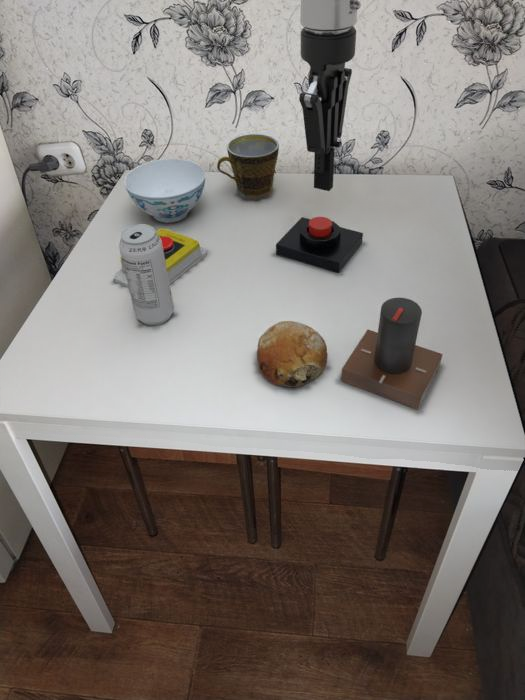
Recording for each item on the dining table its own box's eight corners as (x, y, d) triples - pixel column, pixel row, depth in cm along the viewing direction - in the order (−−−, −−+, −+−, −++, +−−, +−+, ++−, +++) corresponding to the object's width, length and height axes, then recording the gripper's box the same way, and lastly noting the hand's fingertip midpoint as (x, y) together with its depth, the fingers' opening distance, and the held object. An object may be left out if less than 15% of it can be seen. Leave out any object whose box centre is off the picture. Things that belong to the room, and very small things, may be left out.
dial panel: (439, 366, 82) (443, 352, 81) (418, 410, 77) (421, 397, 75) (366, 341, 87) (368, 327, 85) (340, 381, 81) (341, 368, 79)
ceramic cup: (262, 175, 124) (260, 129, 117) (289, 195, 118) (289, 147, 111) (208, 194, 120) (203, 147, 113) (234, 215, 113) (230, 166, 106)
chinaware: (215, 195, 119) (211, 158, 114) (201, 235, 109) (197, 198, 103) (142, 193, 121) (136, 157, 115) (122, 233, 110) (114, 196, 105)
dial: (382, 343, 82) (389, 291, 76) (416, 355, 80) (427, 302, 74) (368, 366, 79) (375, 313, 73) (404, 379, 77) (414, 326, 71)
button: (335, 228, 102) (336, 219, 101) (325, 240, 100) (326, 231, 98) (314, 223, 104) (315, 214, 102) (304, 234, 101) (304, 225, 100)
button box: (362, 243, 105) (363, 223, 102) (338, 273, 99) (340, 253, 96) (301, 227, 109) (302, 208, 107) (276, 254, 103) (275, 235, 101)
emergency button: (206, 231, 101) (148, 276, 93) (209, 253, 104) (153, 298, 96) (165, 217, 105) (106, 258, 97) (169, 238, 108) (111, 280, 100)
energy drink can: (182, 310, 93) (168, 228, 83) (157, 332, 90) (139, 250, 79) (153, 298, 96) (136, 217, 85) (128, 319, 92) (107, 237, 82)
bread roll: (329, 371, 87) (335, 320, 85) (317, 397, 78) (324, 340, 75) (264, 360, 89) (269, 309, 87) (245, 384, 80) (250, 328, 77)
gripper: (333, 43, 74) (327, 211, 90) (373, 17, 82) (360, 175, 98) (281, 37, 77) (283, 200, 93) (324, 12, 85) (319, 166, 101)
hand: (323, 187), depth 95 cm, fingers closed
